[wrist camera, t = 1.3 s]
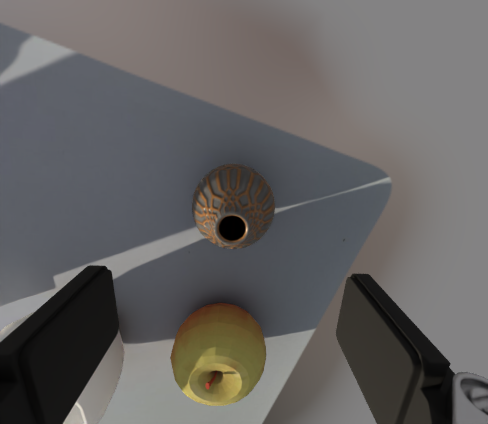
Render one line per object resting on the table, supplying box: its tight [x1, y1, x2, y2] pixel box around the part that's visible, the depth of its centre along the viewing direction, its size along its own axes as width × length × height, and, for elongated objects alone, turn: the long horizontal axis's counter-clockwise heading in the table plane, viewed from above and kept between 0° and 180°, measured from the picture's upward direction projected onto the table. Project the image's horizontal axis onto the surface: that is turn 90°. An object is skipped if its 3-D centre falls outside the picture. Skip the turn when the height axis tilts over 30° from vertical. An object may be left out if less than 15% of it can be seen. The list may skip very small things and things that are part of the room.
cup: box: [0, 312, 125, 424], centre depth 24 cm, size 12×12×10 cm
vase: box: [192, 164, 275, 249], centre depth 20 cm, size 7×7×9 cm
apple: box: [170, 303, 266, 406], centre depth 25 cm, size 10×10×8 cm
